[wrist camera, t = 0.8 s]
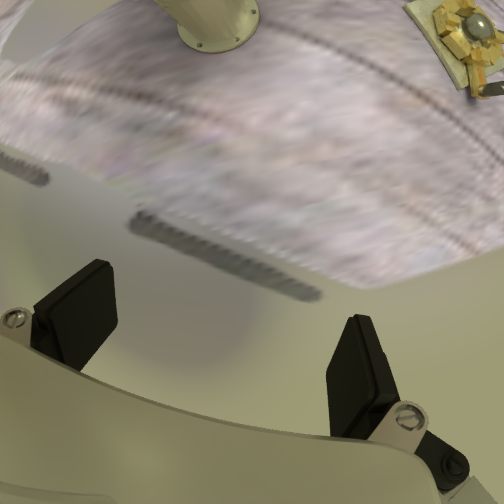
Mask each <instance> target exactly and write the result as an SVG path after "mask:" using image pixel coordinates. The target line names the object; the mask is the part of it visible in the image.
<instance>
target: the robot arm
mask: <svg viewBox="0 0 504 504" xmlns="http://www.w3.org/2000/svg"><path fill="white" fill-rule="evenodd" d="M154 1H155V2H156V3H157V4H158V5H159V6H161V7H162V8H163V9H164V10H165V11H166V12H167V13H168V14H170V15H171V16H172V17H173V18H174V19H175V20H176V21H177V30H178V33H179V36H180V37H181V39H182V40H183V41H184V42H185V43H186V44H187V45H188V46H190V47H191V48H193V49H195V50H197V51H201V52H205V53H220V52H224V51H228V50H231V49H234V48H236V47H238V46H240V45H241V44H243V43H244V42H245V41H247V40H248V39H249V38H250V37H251V36H252V35H253V34H254V32H255V30H256V29H257V26H258V23H259V18H260V14H259V9H258V6H257V3H256V2H255V0H154ZM253 13H255V14H253ZM237 40H239V41H238V42H236V41H237ZM200 46H202V47H201V48H200ZM33 307H34V311H35V313H34V314H32V313H31V312H30V311H29V310H28V309H26V308H13V309H10V310H8V311H6V312H5V313H4V314H3V315H2V316H1V318H0V504H498V503H497V502H496V501H495V500H494V499H493V497H492V496H491V495H490V494H489V493H488V492H487V490H486V489H485V488H484V487H483V486H482V485H481V483H480V482H479V481H478V480H477V479H476V478H475V476H472V477H471V478H470V477H469V471H470V468H469V463H468V460H467V459H466V457H465V456H464V455H463V454H462V453H460V452H459V451H458V450H456V449H454V448H453V447H451V446H450V445H448V444H447V443H445V442H444V441H443V440H441V439H440V438H438V437H437V436H435V435H434V434H432V433H431V432H429V431H428V430H427V427H428V424H429V420H428V416H427V414H426V412H425V411H424V409H423V408H422V407H420V406H419V405H417V404H416V403H413V402H410V401H401V400H400V397H399V394H398V391H397V387H396V384H395V381H394V378H393V375H392V372H391V369H390V366H389V363H388V361H387V357H386V355H385V353H384V352H383V350H382V348H381V345H380V342H379V339H378V337H377V334H376V331H375V328H374V326H373V323H372V320H371V318H370V317H369V316H366V315H359V314H355V315H354V316H353V317H349V318H348V320H347V323H346V325H345V328H344V330H343V333H342V335H341V338H340V340H339V342H338V345H337V347H336V350H335V352H334V354H333V356H332V359H331V361H330V363H329V366H328V368H327V371H326V383H327V394H328V407H329V418H330V419H329V420H330V436H319V435H310V434H302V433H293V432H287V431H279V430H273V429H266V428H260V427H255V426H249V425H243V424H239V423H234V422H229V421H225V420H220V419H216V418H212V417H208V416H203V415H200V414H196V413H192V412H188V411H185V410H182V409H178V408H175V407H171V406H168V405H165V404H162V403H158V402H156V401H153V400H150V399H147V398H144V397H141V396H138V395H135V394H133V393H130V392H127V391H125V390H122V389H119V388H116V387H114V386H111V385H109V384H107V383H104V382H102V381H99V380H97V379H95V378H93V377H90V376H88V375H86V374H84V373H81V372H80V371H81V370H82V369H83V367H84V366H85V365H86V364H87V362H88V361H89V360H90V359H91V357H92V356H93V355H94V354H95V352H96V351H97V350H98V349H99V347H100V346H101V345H102V344H103V343H104V341H105V340H106V339H107V338H108V336H109V335H110V334H111V333H112V332H113V330H114V329H115V328H116V326H117V323H118V318H117V309H116V298H115V287H114V272H113V267H112V266H111V265H110V263H109V262H108V261H104V260H100V259H95V260H94V261H92V262H91V263H89V264H88V265H87V266H85V267H84V268H82V269H81V270H80V271H78V272H77V273H76V274H74V275H73V276H71V277H70V278H69V279H67V280H66V281H65V282H63V283H62V284H61V285H59V286H58V287H57V288H56V289H54V290H53V291H52V292H50V293H49V294H48V295H47V296H45V297H44V298H43V299H42V300H40V301H39V302H38V303H36V304H35V305H34V306H33Z"/></svg>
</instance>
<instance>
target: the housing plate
mask: <svg viewBox="0 0 504 504" xmlns="http://www.w3.org/2000/svg"><path fill="white" fill-rule="evenodd" d="M444 1H445V0H417V1H414V2H411V3H407V4H405V5H404V7H403V8H404V9H405V11H406V12H407V13H408V14H409V16H410V17H411V18H412V20H413V21H414V22H415V23H416V25H417V26H418V28H419V29H420V30H421V32H422V33H423V34H424V36H425V37H426V39H427V40H428V42H429V43H430V45H431V46H432V48H433V49H434V51H435V52H436V54H437V55H438V57H439V58H440V60H441V62H442V63H443V65H444V67H445V68H446V70H447V72H448V73H449V75H450V77H451V79H452V80H453V82H454V84H455V86H456V88H457V90H458V89H462V88H464V87H466V86H468V85H470V80H469V73H468V67H467V64H466V63H463V61H462V58H461V59H458V58H457V57H456V56H455V55H454V53H453V52H452V51H451V50H450V49H449V48H448V47H447V46H446V44H445V43H444V42H443V41H442V40H441V39H442V38H443V37H444V36H441V35H438V32H437V27H436V23H435V19H434V16H433V13H434V12H435V11H434V9H436V8H437V7H438V6H439V5H440V4H441V3H443V2H444ZM454 14H456V13H454ZM456 15H459V14H456ZM459 18H460V21H461V24H460V25H459V26H457V28H458V31H459V32H460V33H461V34H462V35H463V37H464V38H465V39H466V40H467V41H468V42H469V43H470V45H471V46H472V47H475V48H476V47H478V46H482V47H483V42H482V39H483V38H486V37H488V36H491V35H492V34H493V33H494V29H493V26H492V24H491V22H490V20H489V19H488V18H487V17H486V16H485V15H483V14H482V13H475V14H473V15H472V16H470V17H468V18H467V17H465V16H462V15H459ZM498 32H500V33H502V34H504V31H501V30H498ZM502 44H504V43H502ZM501 52H502V56H501V57H500V58H499V59H498V61H497V62H496V63H495V65H493V66H489V67H485V68H484V69H485V75H486V76H488V75H490V74H492V73H494V72H497V71H499V70H501V69H503V68H504V52H503V51H501Z"/></svg>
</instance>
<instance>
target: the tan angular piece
mask: <svg viewBox="0 0 504 504" xmlns="http://www.w3.org/2000/svg"><path fill="white" fill-rule="evenodd" d="M434 11H435V12H434V13H433V16H434V19H435V23H436V27H437V32H438V35H441V36H444V37H443V38H442V39H441V40H442V41H443V42H444V43H445V44H446V46H447V47H448V48H449V49H450V50H451V51H452V52H453V53H454V55H455V56H456V57H457V58H458V59H461V58H462V61H463V63H466V64H467V67H468V73H469V80H470V87H471V95H472V97H475V98H479V99H489V97H490V96H498V95H504V81H499V82H494V83H489V84H487V81H486V75H485V69H484V68H485V67H489V66H493V65H495V63H496V62H497V61H498V59H499V58H500V57H501V56H502V52H501V51H503V49H502V43H504V34H502V33H500V32H498V29H496V28H493V29H494V33H493V34H492V35H491V36H488V37H486V38H483V39H482V42H483V47H482V46H478V47H476V48H475V47H472V46H471V45H470V43H469V42H468V41H467V40H466V39H465V38H464V37H463V35H462V34H461V33H460V32H459V31H458V28H457V26H459V25H460V24H461V21H460V18H459V15H462V16H465V17H467V18H468V17H470V16H472V15H473V14H475V13H482V14H483V15H485V16H486V17H487V18H488V19H489V20H490V22H491V24H492V26H493V27H494V26H495V24H494V23H493V22H492V21H491V19H490V18H489V17H488V16H487V15H486V14H485V12H484V11H483V10H482V9H481V8H480V7H479V6H477V7H476V6H475V3H474V1H473V0H445V1H444V2H443V3H441V4H440V5H439V6H438V7H437V8H436V9H434ZM454 13H456V14H459V15H456V14H454Z"/></svg>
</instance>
